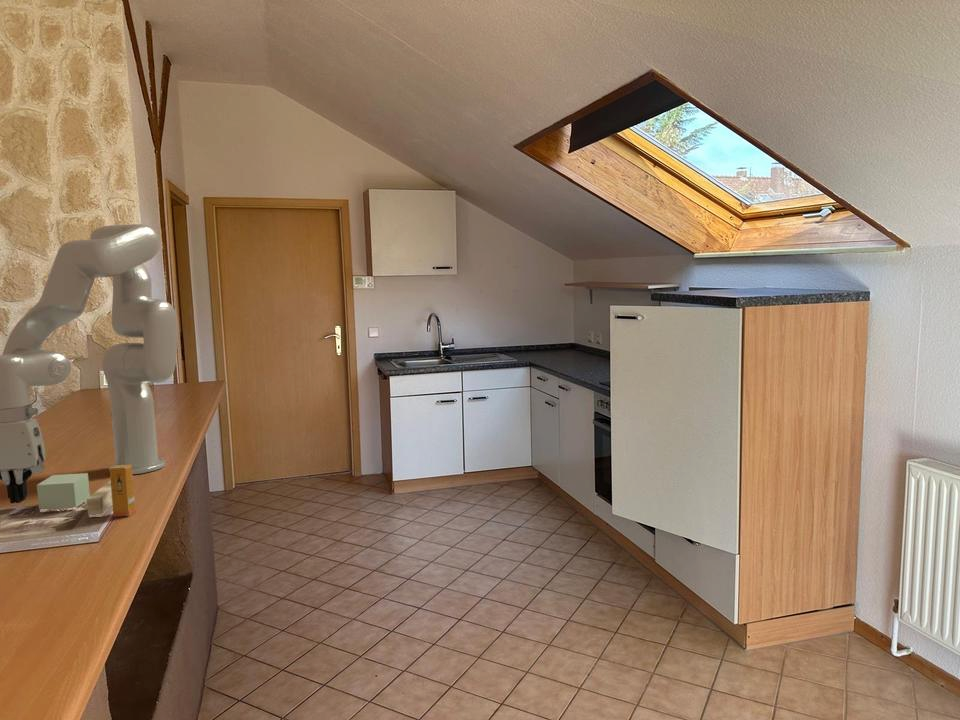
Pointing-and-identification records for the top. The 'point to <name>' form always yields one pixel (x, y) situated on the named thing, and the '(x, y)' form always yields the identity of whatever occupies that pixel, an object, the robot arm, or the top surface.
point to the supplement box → (122, 490)
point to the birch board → (100, 500)
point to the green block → (63, 491)
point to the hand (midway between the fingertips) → (18, 501)
